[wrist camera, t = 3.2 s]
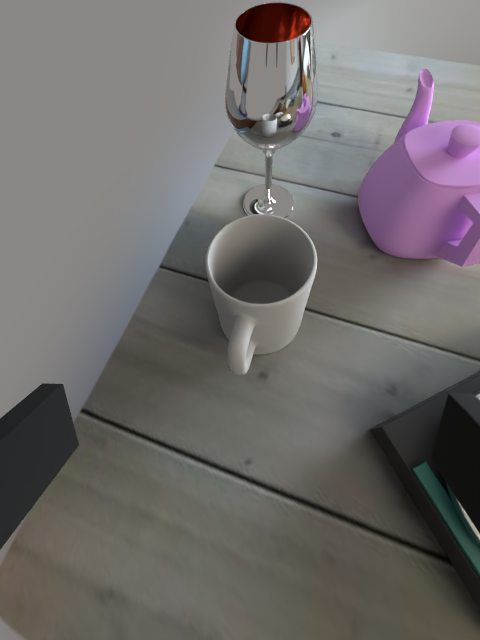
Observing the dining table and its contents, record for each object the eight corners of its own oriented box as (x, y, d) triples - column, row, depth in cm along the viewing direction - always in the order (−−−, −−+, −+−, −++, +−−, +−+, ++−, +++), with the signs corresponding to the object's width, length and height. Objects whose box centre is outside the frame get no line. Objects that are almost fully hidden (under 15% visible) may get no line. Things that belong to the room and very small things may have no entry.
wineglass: (240, 234, 38) (225, 61, 21) (231, 185, 41) (212, 3, 24) (306, 223, 38) (343, 43, 21) (292, 175, 41) (314, -13, 24)
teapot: (433, 152, 41) (490, 53, 31) (505, 281, 33) (614, 203, 23) (334, 166, 41) (358, 72, 31) (381, 298, 33) (434, 229, 23)
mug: (233, 275, 35) (222, 203, 25) (307, 291, 34) (328, 222, 24) (199, 375, 31) (169, 337, 21) (283, 399, 29) (295, 370, 19)
